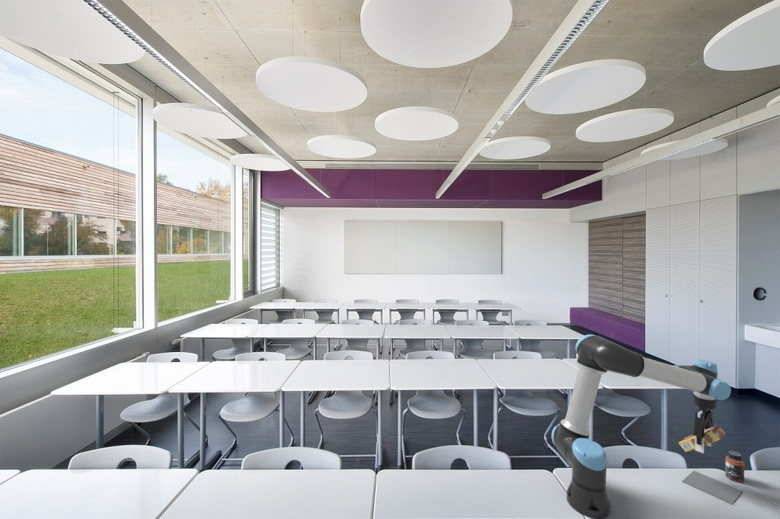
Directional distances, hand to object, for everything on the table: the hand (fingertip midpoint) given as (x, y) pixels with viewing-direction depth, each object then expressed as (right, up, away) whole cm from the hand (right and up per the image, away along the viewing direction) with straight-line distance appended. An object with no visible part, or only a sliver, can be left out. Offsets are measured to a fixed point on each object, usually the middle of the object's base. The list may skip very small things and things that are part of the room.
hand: (703, 448), depth 151 cm
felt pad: (+1, -15, -2) cm, 16 cm away
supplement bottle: (+17, -16, +3) cm, 23 cm away
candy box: (-3, -2, +5) cm, 6 cm away
